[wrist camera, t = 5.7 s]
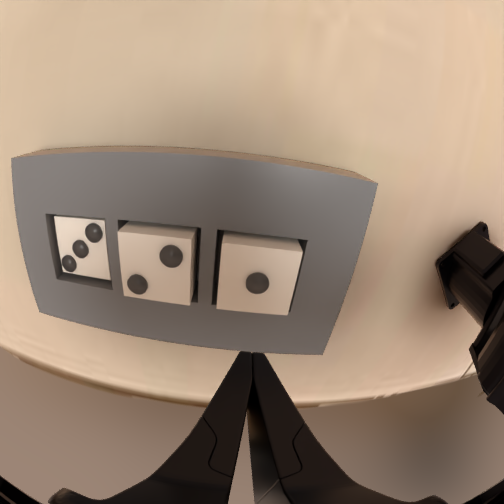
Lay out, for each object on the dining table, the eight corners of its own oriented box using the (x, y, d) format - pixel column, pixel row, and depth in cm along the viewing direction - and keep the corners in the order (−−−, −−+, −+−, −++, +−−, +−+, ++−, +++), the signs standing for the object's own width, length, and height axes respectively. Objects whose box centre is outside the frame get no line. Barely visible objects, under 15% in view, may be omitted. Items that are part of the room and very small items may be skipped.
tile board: (354, 172, 16) (377, 183, 13) (313, 324, 21) (322, 354, 18) (41, 150, 14) (11, 158, 11) (59, 289, 19) (39, 312, 16)
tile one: (296, 238, 15) (303, 253, 13) (283, 297, 17) (287, 317, 15) (224, 229, 15) (221, 244, 13) (219, 291, 17) (215, 310, 15)
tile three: (117, 210, 16) (103, 221, 14) (121, 266, 17) (109, 281, 16) (68, 207, 15) (52, 217, 14) (75, 259, 17) (61, 273, 15)
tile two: (197, 226, 15) (190, 241, 13) (194, 288, 16) (189, 307, 15) (130, 220, 15) (115, 232, 13) (134, 279, 16) (122, 297, 14)
